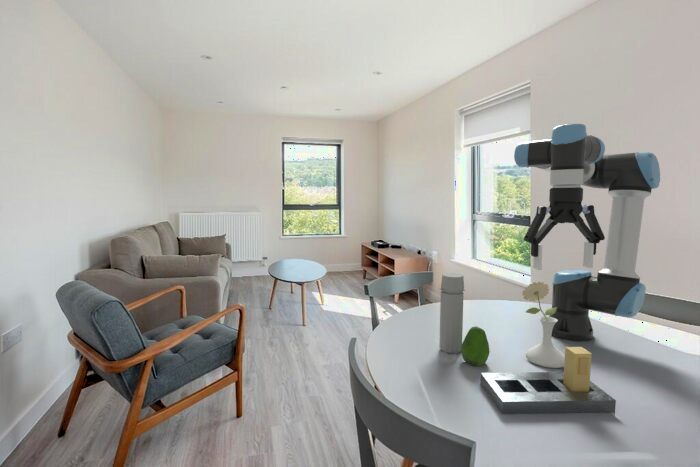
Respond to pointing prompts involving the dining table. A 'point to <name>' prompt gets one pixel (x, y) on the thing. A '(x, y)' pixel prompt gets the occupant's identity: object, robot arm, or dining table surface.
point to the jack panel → (543, 394)
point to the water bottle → (451, 312)
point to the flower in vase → (544, 351)
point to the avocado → (475, 347)
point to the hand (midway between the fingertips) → (562, 268)
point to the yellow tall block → (577, 369)
